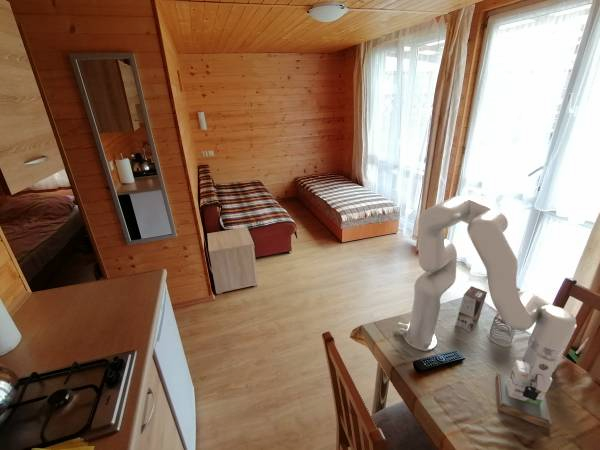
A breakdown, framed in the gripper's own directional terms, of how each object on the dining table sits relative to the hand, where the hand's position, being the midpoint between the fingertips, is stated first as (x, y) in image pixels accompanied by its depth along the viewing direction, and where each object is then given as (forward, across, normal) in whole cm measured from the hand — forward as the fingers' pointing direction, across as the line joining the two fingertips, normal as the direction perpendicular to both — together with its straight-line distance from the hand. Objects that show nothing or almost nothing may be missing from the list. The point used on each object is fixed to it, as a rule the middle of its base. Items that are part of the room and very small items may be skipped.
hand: (526, 384), depth 94 cm
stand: (+8, 0, 0) cm, 8 cm away
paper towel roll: (+8, +21, -10) cm, 25 cm away
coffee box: (+8, +32, +16) cm, 37 cm away
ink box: (+5, 0, 0) cm, 5 cm away
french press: (+8, +29, +3) cm, 30 cm away
